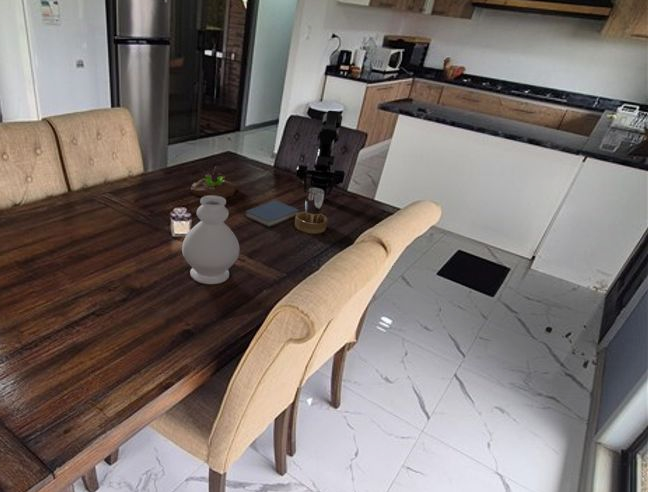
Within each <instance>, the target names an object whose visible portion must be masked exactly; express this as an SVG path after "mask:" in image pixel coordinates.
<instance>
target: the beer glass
mask: <svg viewBox="0 0 648 492" xmlns="http://www.w3.org/2000/svg"><path fill="white" fill-rule="evenodd" d="M324 195H325V191H324V190H323V189H320V188H312V187H309V188H308V189H307V190H306V196H305V200H304V211H305V219H304V221H305V222H308V223H318V218H319V215H320V214H321V213H322V210H323V207H324V202H325V200H324Z"/></svg>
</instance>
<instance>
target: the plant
mask: <svg viewBox="0 0 648 492" xmlns="http://www.w3.org/2000/svg"><path fill="white" fill-rule="evenodd" d="M219 168H220V166H219V165H218V164H217V165H215V166H214V168H213V172H207V174H205V177H204V178H202V179H200V180H198V181H197V182H193V184H191V187H190V192H191V193H192V194H193V195H194V196H199V197H204V196H209V195H214V196H220V197H223V198H224V199H225V200H227V198H232V197H234V195H235V193H236V192H237V190H238V186H237V184H235V183H234V182H231V181H229V180H226V179H225V178H226V175H225V174H224V173H218V174H217V170H219Z"/></svg>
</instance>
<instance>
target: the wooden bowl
mask: <svg viewBox="0 0 648 492" xmlns="http://www.w3.org/2000/svg"><path fill="white" fill-rule="evenodd" d="M304 219H305V210H304V211H298V213H297V214H296V216H295V217H294V224H293V226H294V228H295V229H296V230H298V231H300V232H303V233H307V234H314V235H315V234H322V233H324V232H325V231H326V229H327V225H328V221H329V219H328V217H327V216H326V215H325V214H322V213H320V215H319V218H318V223H308V222H305V221H304Z"/></svg>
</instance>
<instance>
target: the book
mask: <svg viewBox="0 0 648 492" xmlns="http://www.w3.org/2000/svg"><path fill="white" fill-rule="evenodd" d="M299 212H300V209H298V208H295V207H293V206H291V205H288V204H286V203H283V202H280V201H279V200H273V201H269V202H267V203H264V204H261V205H258V206H255V207H253V208H250V209H247V210H245V215H244V217H246V218H247V219H250V220H252V221H255V222H257V223H258V224H261V225H264V226H266V227H268V228H270V227H273V226H276V225H278V224H281V223H283V222H286V221H287V220H291V219H293V218H295V217H296V214H297V213H299Z"/></svg>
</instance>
